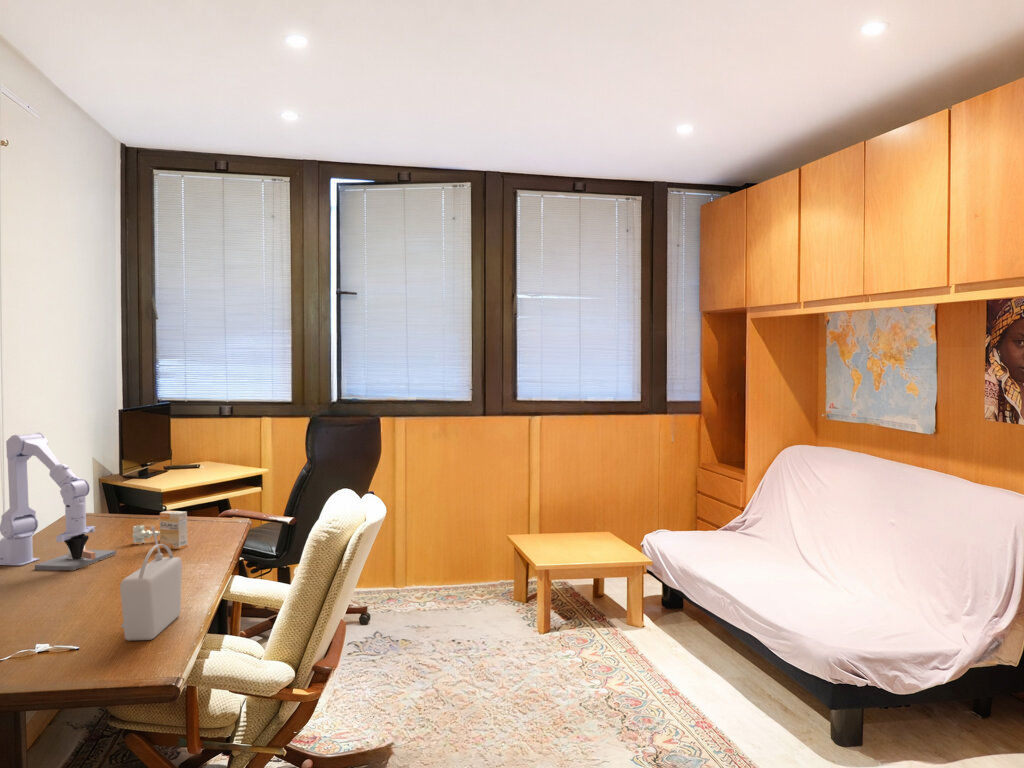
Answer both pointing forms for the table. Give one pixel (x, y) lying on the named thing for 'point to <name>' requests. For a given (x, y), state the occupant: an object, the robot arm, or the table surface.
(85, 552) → the handle
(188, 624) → the table surface
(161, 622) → the grey handbag
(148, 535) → the valve
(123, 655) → the table surface
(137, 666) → the table surface
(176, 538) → the supplement box
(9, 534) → the robot arm
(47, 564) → the base plate
